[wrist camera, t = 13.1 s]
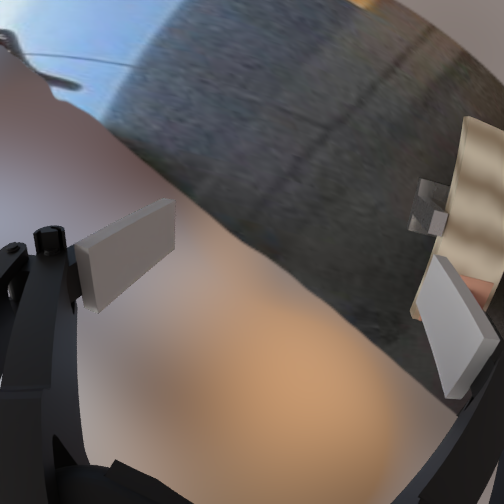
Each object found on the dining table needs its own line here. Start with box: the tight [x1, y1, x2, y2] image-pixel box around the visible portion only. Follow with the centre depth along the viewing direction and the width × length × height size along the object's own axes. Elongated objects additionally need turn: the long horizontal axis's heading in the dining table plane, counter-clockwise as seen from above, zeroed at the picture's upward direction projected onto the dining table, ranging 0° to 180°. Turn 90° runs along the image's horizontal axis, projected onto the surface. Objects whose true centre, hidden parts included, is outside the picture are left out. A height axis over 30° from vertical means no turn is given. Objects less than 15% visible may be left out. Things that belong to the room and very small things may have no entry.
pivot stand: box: [407, 177, 451, 238], centre depth 35 cm, size 8×17×10 cm, turn 83°
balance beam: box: [410, 117, 504, 321], centre depth 32 cm, size 28×12×2 cm, turn 173°
